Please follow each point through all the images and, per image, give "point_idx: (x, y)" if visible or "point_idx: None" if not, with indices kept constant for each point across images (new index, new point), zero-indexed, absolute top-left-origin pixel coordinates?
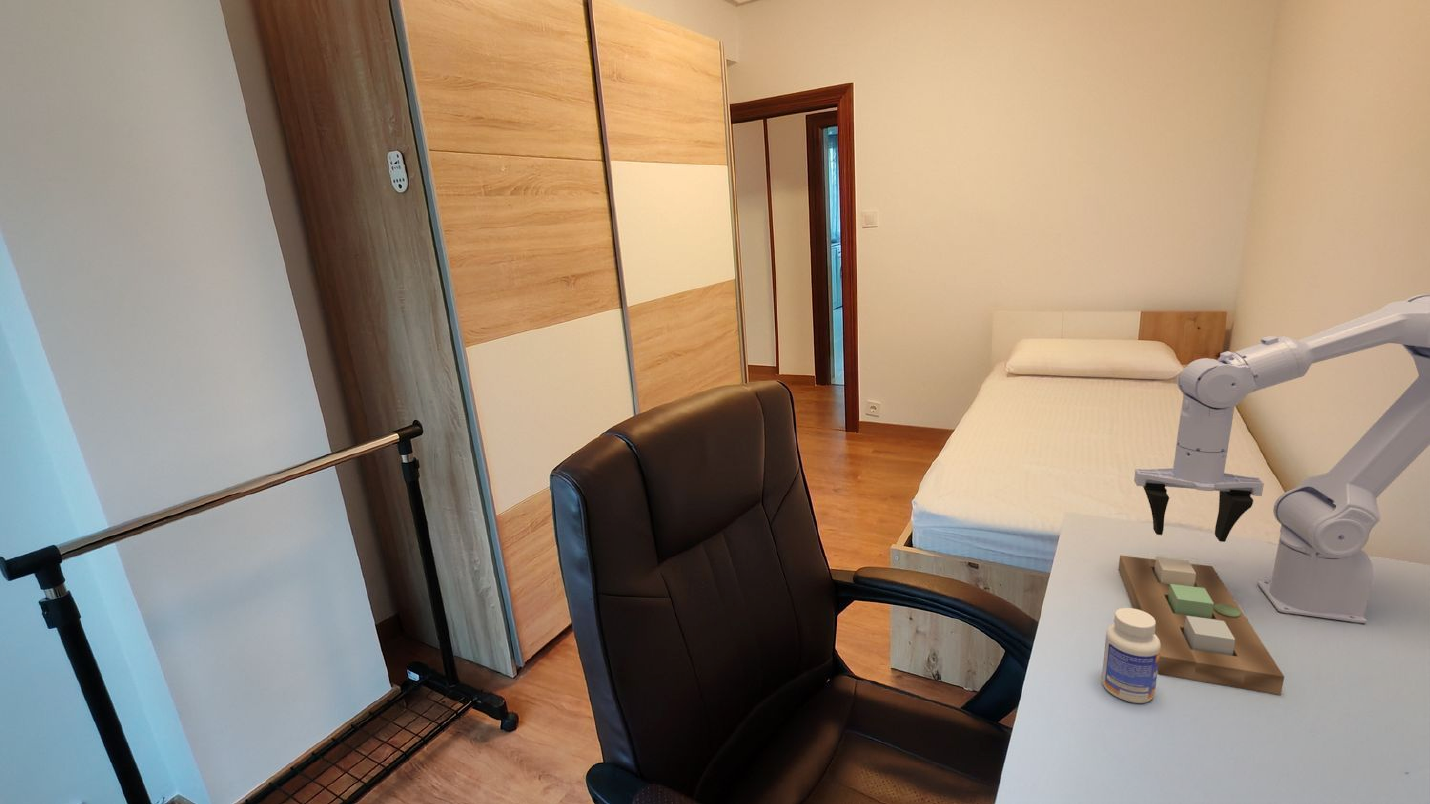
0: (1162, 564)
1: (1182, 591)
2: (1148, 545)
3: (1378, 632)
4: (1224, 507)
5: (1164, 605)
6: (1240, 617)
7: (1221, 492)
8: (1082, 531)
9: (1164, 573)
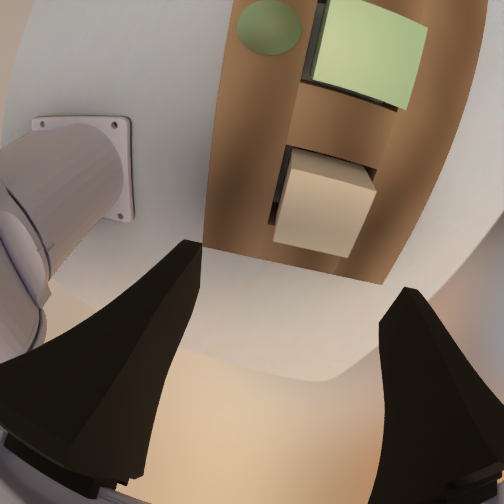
0: (359, 218)
1: (395, 62)
2: (267, 327)
3: (30, 100)
4: (141, 398)
5: (423, 61)
6: (247, 4)
7: (139, 463)
8: (349, 356)
9: (369, 183)
